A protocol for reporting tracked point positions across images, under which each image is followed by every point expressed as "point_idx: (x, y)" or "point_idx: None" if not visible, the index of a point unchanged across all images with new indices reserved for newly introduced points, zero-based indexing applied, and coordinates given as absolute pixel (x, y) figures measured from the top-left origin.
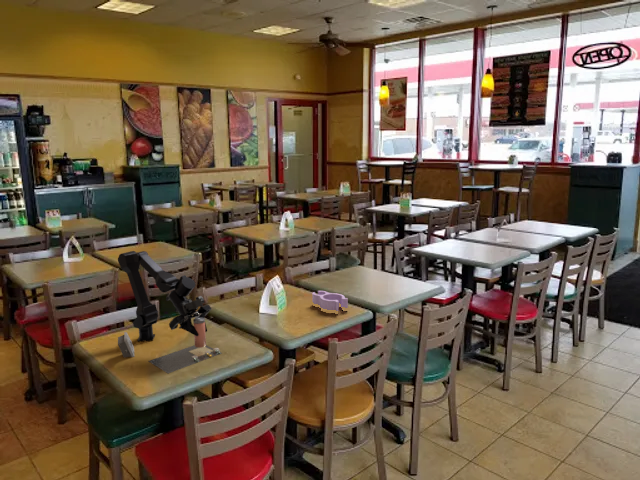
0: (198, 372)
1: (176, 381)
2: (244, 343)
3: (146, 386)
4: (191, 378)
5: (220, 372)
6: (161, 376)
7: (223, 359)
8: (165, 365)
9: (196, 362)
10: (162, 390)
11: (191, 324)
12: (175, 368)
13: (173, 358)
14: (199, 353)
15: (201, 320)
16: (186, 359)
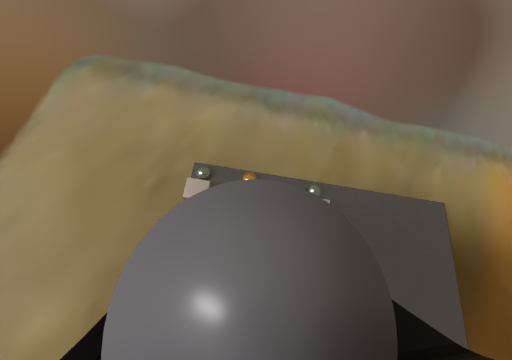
0: (339, 149)
1: (420, 161)
2: (21, 184)
3: (505, 213)
4: (376, 138)
5: (292, 94)
6: None
7: (215, 148)
8: (427, 273)
9: (322, 185)
10: (471, 152)
11: (400, 335)
12: (407, 213)
13: None
14: None
15: (266, 214)
16: None
